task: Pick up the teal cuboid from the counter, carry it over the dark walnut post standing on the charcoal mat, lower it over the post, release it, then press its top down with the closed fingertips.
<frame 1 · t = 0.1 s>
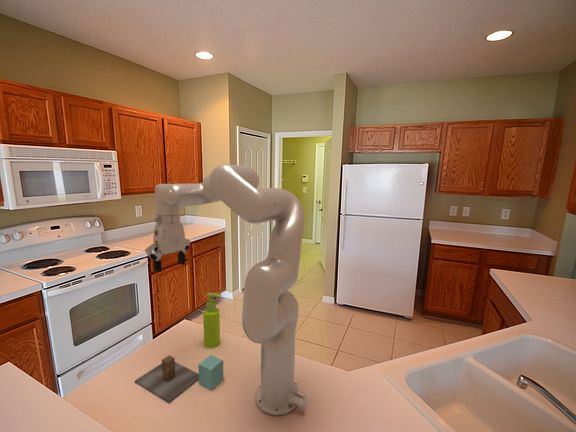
hand: (170, 267, 96), 31 cm above the countertop, fingers open, 9 cm apart
teal cuboid: (211, 381, 84), on the countertop
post: (169, 379, 85), on the countertop
soap dispenser: (213, 344, 104), on the countertop
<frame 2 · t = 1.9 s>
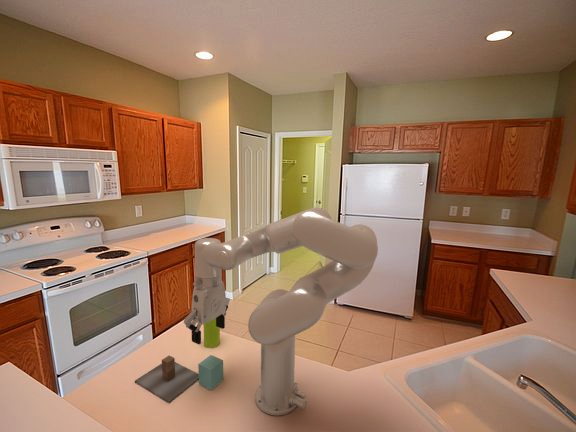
hand: (208, 334, 82), 15 cm above the countertop, fingers open, 9 cm apart
nothing on the countertop moved.
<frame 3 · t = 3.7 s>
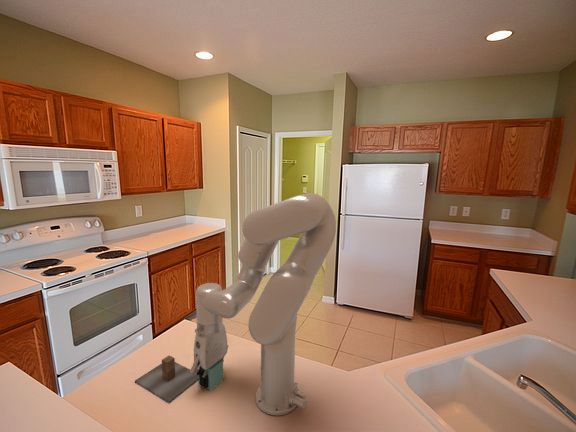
hand: (211, 379, 84), 1 cm above the countertop, fingers closed on teal cuboid, 5 cm apart
teal cuboid: (211, 381, 84), on the countertop, touching gripper
everything else where it was.
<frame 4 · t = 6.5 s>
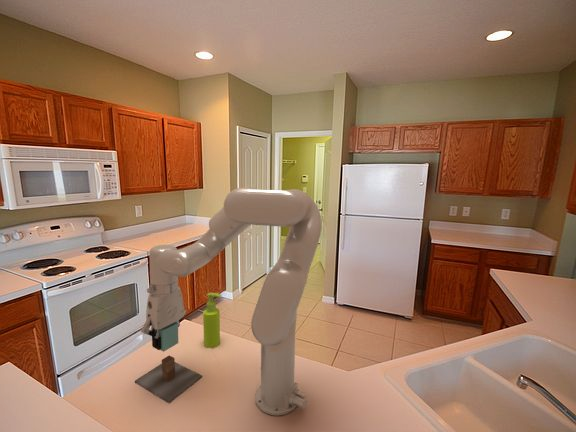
hand: (165, 342, 83), 12 cm above the countertop, fingers closed on teal cuboid, 5 cm apart
teal cuboid: (165, 344, 84), point 12 cm above the countertop, touching gripper
everything else where it was.
when the fingers open (3 cm above the countertop, at t = 9.1 s): teal cuboid drops 1 cm, resting on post.
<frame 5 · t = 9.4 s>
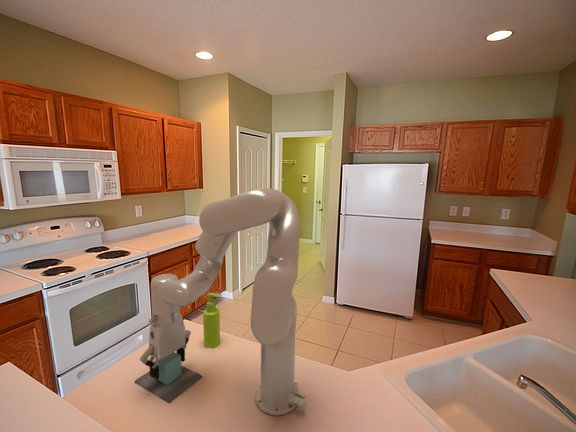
hand: (168, 368, 84), 4 cm above the countertop, fingers open, 8 cm apart
teal cuboid: (168, 376, 85), point 1 cm above the countertop, touching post
everything else where it was.
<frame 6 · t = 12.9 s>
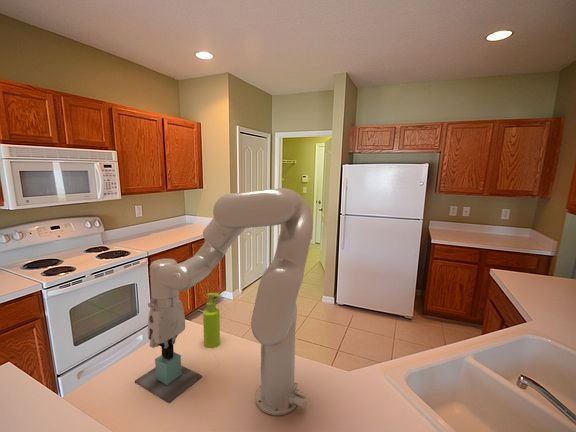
hand: (167, 356, 84), 8 cm above the countertop, fingers closed
teal cuboid: (168, 376, 85), point 1 cm above the countertop, touching gripper, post
everything else where it was.
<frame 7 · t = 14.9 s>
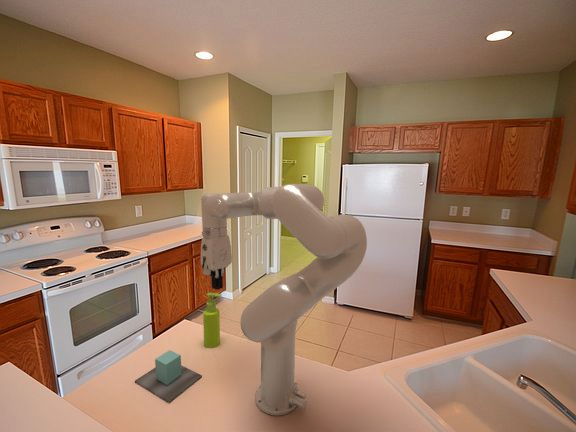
hand: (217, 288, 88), 27 cm above the countertop, fingers closed
teal cuboid: (168, 376, 85), point 1 cm above the countertop, touching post
everything else where it was.
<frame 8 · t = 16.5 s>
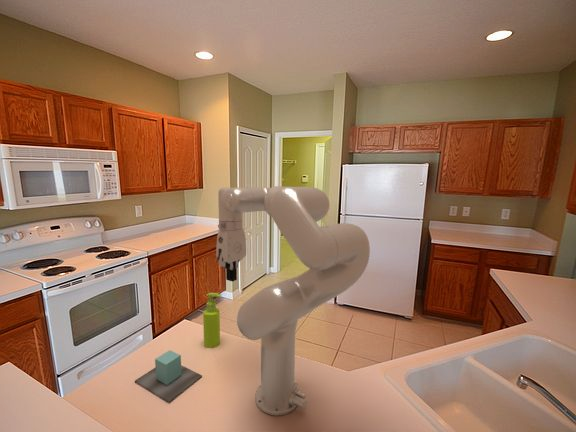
hand: (231, 279, 91), 29 cm above the countertop, fingers closed
nothing on the countertop moved.
at the end: teal cuboid 0.0 cm from the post (horizontally); teal cuboid point 1.0 cm above the countertop; the gripper is holding nothing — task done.
